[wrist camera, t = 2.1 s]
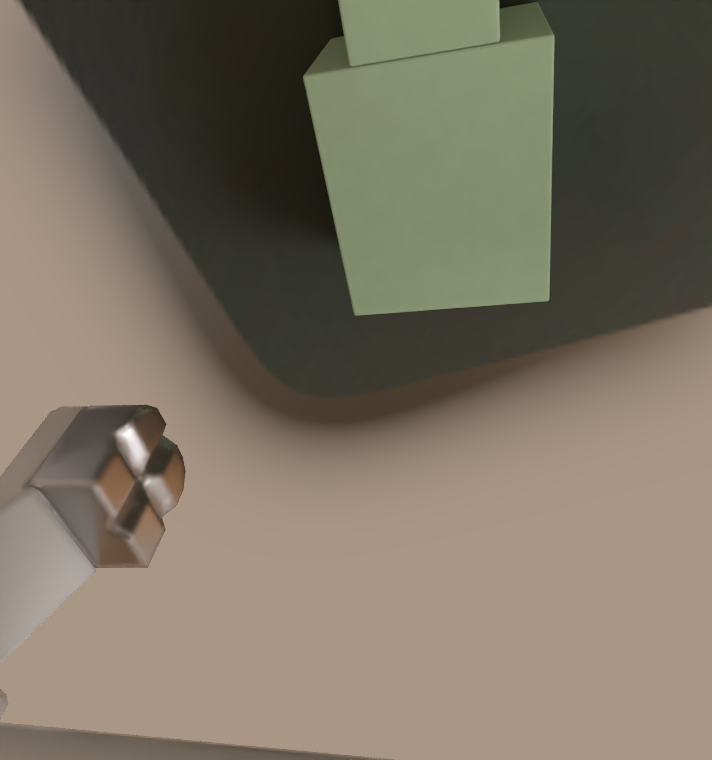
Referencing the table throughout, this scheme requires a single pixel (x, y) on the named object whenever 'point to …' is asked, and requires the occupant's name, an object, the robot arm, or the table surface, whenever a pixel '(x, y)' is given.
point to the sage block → (438, 151)
